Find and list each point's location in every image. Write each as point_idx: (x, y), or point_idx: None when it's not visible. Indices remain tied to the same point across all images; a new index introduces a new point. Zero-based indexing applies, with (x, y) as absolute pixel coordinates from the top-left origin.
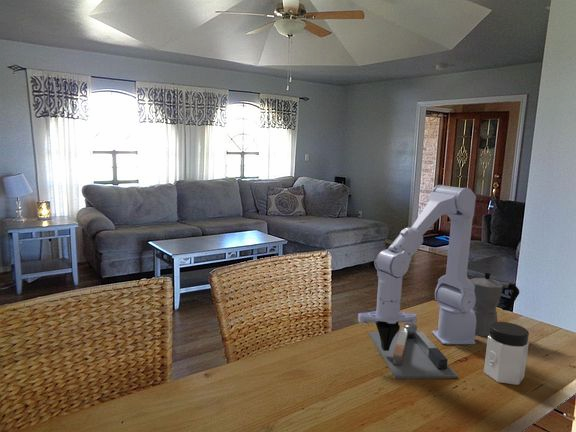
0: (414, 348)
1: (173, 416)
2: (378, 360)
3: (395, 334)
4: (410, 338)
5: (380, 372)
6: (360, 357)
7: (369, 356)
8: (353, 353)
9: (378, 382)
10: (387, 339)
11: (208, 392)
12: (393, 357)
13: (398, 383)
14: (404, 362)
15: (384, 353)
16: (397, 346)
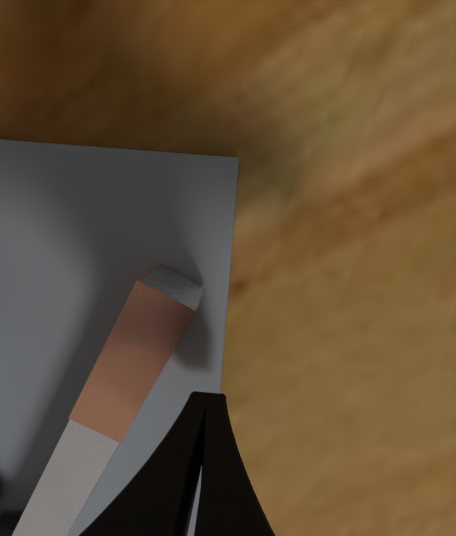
0: (27, 430)
1: None
2: (254, 352)
3: (93, 524)
4: (19, 516)
5: (295, 235)
6: (335, 388)
7: (284, 393)
8: (354, 427)
9: (354, 127)
10: (190, 475)
11: None
12: (196, 300)
13: (241, 105)
14: None
15: None
16: (123, 412)
